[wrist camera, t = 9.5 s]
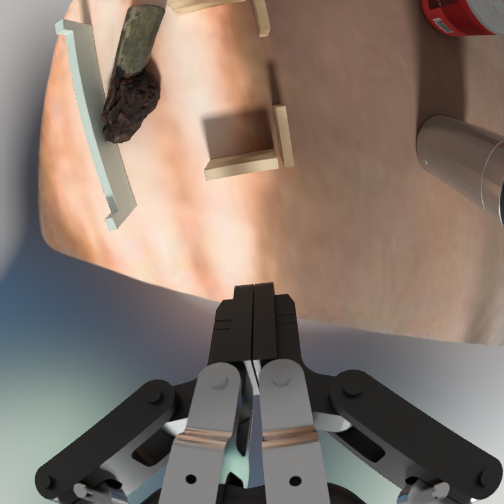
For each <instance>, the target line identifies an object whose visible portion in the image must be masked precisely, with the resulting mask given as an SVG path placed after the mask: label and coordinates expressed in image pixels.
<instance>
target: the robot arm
mask: <svg viewBox="0 0 504 504" xmlns="http://www.w3.org/2000/svg"><path fill="white" fill-rule="evenodd" d="M416 147H417V154H418V158H419V160H420V163H421V164H422V166H423V167H424V169H426V170H427V171H428V172H429V173H431V174H432V175H434V176H436V177H437V178H439V179H440V180H442V181H443V182H444V183H446V184H447V185H449V186H450V187H452V188H453V189H455V190H456V191H458V192H459V193H460V194H462V195H463V196H465V197H466V198H467V199H469V200H470V201H471V202H473V203H474V204H475V205H477V206H478V207H479V208H481V209H482V210H483V211H484V212H486V213H487V214H488V215H489V216H491V217H492V218H493V219H494V220H496V221H497V222H498V223H499V224H500V225H502V226H503V227H504V136H502V135H499V134H497V133H494V132H492V131H489V130H486V129H484V128H481V127H478V126H475V125H472V124H469V123H466V122H463V121H460V120H457V119H454V118H450V117H447V116H443V115H436V116H433V117H431V118H429V119H428V120H426V121H425V122H424V124H423V125H422V126H421V128H420V131H419V133H418V137H417V144H416ZM213 330H214V331H213V334H212V340H211V347H210V353H209V360H208V365H207V367H206V368H204V369H203V370H202V371H201V373H200V374H199V376H198V378H196V379H195V380H193V381H190V382H187V383H183V384H179V385H176V386H171V385H170V384H169V383H168V382H166V381H164V380H152V381H149V382H147V383H145V384H144V385H143V386H141V387H140V388H139V389H138V390H137V391H136V392H134V393H133V394H132V395H131V396H130V397H128V398H127V399H126V400H125V401H124V402H122V403H121V404H120V405H119V406H117V407H116V408H115V409H114V410H113V411H111V412H110V413H109V414H108V415H106V416H105V417H104V418H103V419H101V420H100V421H99V422H98V423H96V424H95V425H94V426H93V427H92V428H90V429H89V430H88V431H87V432H85V433H84V434H83V435H81V436H80V437H79V438H78V439H76V440H75V441H74V442H73V443H71V444H70V445H69V446H67V447H66V448H65V449H64V450H62V451H61V452H60V453H58V454H57V455H56V456H54V457H53V458H52V459H51V460H49V461H48V462H47V463H45V464H44V465H43V466H41V467H40V468H39V469H38V470H37V472H36V475H35V485H36V488H37V490H38V492H39V493H40V494H41V496H43V497H44V498H46V499H49V500H51V501H54V502H57V503H59V504H130V503H129V501H128V499H127V495H128V494H130V493H131V492H132V491H134V490H135V489H136V488H138V487H139V486H140V485H141V484H143V483H144V482H145V481H146V480H148V479H149V478H150V477H151V476H152V475H154V474H155V473H156V472H157V471H159V470H160V469H161V468H162V467H163V466H165V465H166V464H167V463H168V465H167V469H166V473H165V477H164V481H163V486H162V488H160V489H158V490H157V491H155V492H154V493H153V494H151V495H150V496H149V497H148V498H147V499H145V500H144V501H143V502H142V503H141V504H366V503H365V502H364V501H362V500H361V499H360V498H359V497H358V496H357V495H355V494H354V493H352V492H351V491H349V490H348V489H346V488H344V487H341V486H339V485H336V484H333V483H328V482H327V481H326V475H325V469H324V464H323V458H322V453H321V447H320V442H319V437H318V434H317V431H316V430H315V429H319V430H325V431H327V432H328V433H329V434H330V435H331V436H332V437H333V438H335V439H336V440H337V441H338V442H340V443H341V444H342V445H343V446H345V447H346V448H347V449H348V450H349V451H351V452H352V453H353V454H354V455H356V456H357V457H358V458H360V459H361V460H362V461H364V462H365V463H366V464H368V465H369V466H370V467H371V468H373V469H374V470H375V471H377V472H378V473H379V474H381V475H382V476H384V477H385V478H386V479H388V480H389V481H391V482H392V483H393V484H395V485H396V486H398V487H399V488H401V489H402V491H401V492H400V494H399V496H398V498H397V504H472V503H473V502H476V501H479V500H482V499H485V498H487V497H489V496H490V495H492V494H493V493H494V492H495V491H496V489H497V488H498V486H499V485H500V482H501V480H502V475H503V469H502V465H501V463H500V461H499V460H498V459H496V458H495V457H493V456H492V455H490V454H488V453H487V452H485V451H483V450H481V449H480V448H478V447H477V446H475V445H474V444H472V443H470V442H469V441H467V440H466V439H464V438H462V437H461V436H459V435H457V434H456V433H454V432H453V431H451V430H450V429H448V428H447V427H445V426H443V425H442V424H441V423H439V422H437V421H436V420H434V419H433V418H431V417H430V416H428V415H427V414H425V413H424V412H422V411H421V410H419V409H418V408H416V407H415V406H413V405H412V404H410V403H409V402H407V401H406V400H404V399H403V398H401V397H400V396H398V395H397V394H396V393H394V392H393V391H391V390H389V389H388V388H387V387H385V386H384V385H383V384H381V383H380V382H378V381H377V380H375V379H374V378H372V377H371V376H370V375H368V374H367V373H365V372H363V371H360V370H347V371H344V372H341V373H340V374H338V375H337V376H336V377H335V376H329V375H322V374H318V373H315V372H313V371H311V370H310V369H308V368H307V367H306V366H305V365H304V363H303V361H302V358H301V351H300V342H299V334H298V326H297V318H296V310H295V303H294V301H293V300H292V299H291V297H290V296H289V295H288V294H282V295H275V291H274V283H273V282H269V283H260V284H255V287H254V284H250V285H240V286H235V288H234V297H233V299H229V300H223V301H222V302H221V304H220V305H219V307H218V308H217V310H216V315H215V323H214V328H213ZM253 395H260V404H261V416H262V429H263V439H262V454H263V465H264V478H265V485H262V486H258V487H254V488H249V489H248V488H247V486H248V477H249V463H248V454H249V446H250V437H251V428H252V420H253Z"/></svg>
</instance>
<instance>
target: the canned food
mask: <svg viewBox="0 0 504 504" xmlns="http://www.w3.org/2000/svg"><path fill="white" fill-rule="evenodd" d="M421 8H422V11H423V13H424V15H425V17H426V19H427V20H428V22H429V23H430V24H431V25H432V26H433V27H434V28H435V29H436V30H438V31H439V32H441V33H443V34H445V35H448V36H453V37H456V36H471V35H502V34H504V4H503V3H502V1H501V0H421Z"/></svg>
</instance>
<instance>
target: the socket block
mask: <svg viewBox="0 0 504 504" xmlns="http://www.w3.org/2000/svg"><path fill="white" fill-rule="evenodd" d="M241 1H245V0H167V4H168V6H169V7H171V8H172V9H173V10H174V11H175V12H176V13H177V14H178V15H182V14H186V13H189V12H193V11H197V10H201V9H205V8H210V7H214V6H219V5H224V4H230V3H235V2H241ZM251 1H252V5H253V9H254V14H255V18H256V23H257V27H258V32H259V37H265V36H268V35H269V31H270V23H269V18H268V14H267V9H266V5H265V1H264V0H251ZM273 111H274V117H275V123H276V129H277V135H278V142H279V148H280V155H281V159H282V161H283V164H284V166H285V168H286V167H293V166H294V162H293V154H292V147H291V140H290V133H289V127H288V120H287V114H286V107H285V106H284V105H282V104H279V105H273ZM271 169H278V162H277V157H276V154H275V151H274V149H269V150H262V151H256V152H249V153H244V154H238V155H232V156H227V157H222V158H216V159H211V160H210V161H209V163H208V164H207V166H206V168H205V169H204V174H205V178H206V181H207V180H213V179H218V178H223V177H229V176H234V175H240V174H246V173H252V172H258V171H265V170H271Z"/></svg>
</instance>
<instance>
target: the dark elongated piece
mask: <svg viewBox="0 0 504 504" xmlns="http://www.w3.org/2000/svg"><path fill="white" fill-rule="evenodd" d="M164 14H165V9H164V8H161V7H158V6H154V5H139V6H132V7H130V8H129V9H128V11H127V14H126V18H125V22H124V25H123V28H122V32H121V36H120V41H119V44H118V48H117V53H116V58H115V63H114V68H113V73H112V78H111V83H110V89H109V91H108V94H107V98H106V102H105V106H104V108H103V114H101V120H102V121H103V122H104V124H105V126H104V127H103V132H102V133H104V134H105V142H107V141H110V142H112V143H113V144H117V143H123V142H126V141H129V140H130V139H131V137H132V136H133V135H134V133H135V132H136V131H137V130H138V129H139V128H140V126H141V123H142V122H143V120H144V119H145V118H146V117H147V115H148V114H150V113H151V112H152V111H153V110H154V109H155V108H156V106H157V103H158V100H159V99H160V86H159V83H158V82H157V81H156V79H155V77H154V75H153V74H152V73H150V72H148V71H146V69H145V68H146V66H147V65H148V62H149V58H150V55H151V51H152V48H153V44H154V41H155V37H156V35H157V32H158V30H159V27H160V24H161V21H162V19H163V16H164Z"/></svg>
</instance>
